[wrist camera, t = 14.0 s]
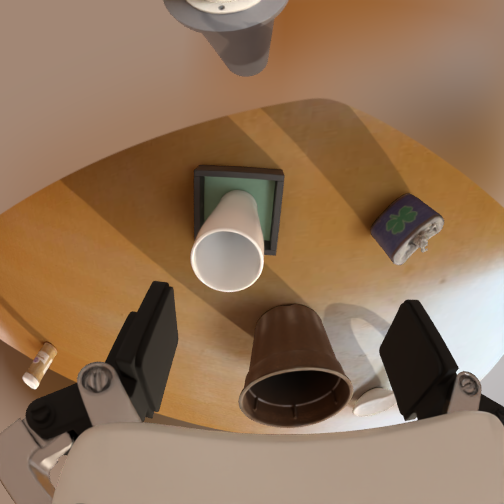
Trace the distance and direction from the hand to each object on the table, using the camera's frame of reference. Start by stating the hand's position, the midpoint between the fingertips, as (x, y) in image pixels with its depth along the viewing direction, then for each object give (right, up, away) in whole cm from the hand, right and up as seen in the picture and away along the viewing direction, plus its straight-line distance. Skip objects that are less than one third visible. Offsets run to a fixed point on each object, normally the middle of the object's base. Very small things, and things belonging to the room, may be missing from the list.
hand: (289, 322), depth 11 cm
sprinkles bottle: (-55, -23, +47) cm, 76 cm away
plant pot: (+5, -11, +39) cm, 41 cm away
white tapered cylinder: (-3, +9, +28) cm, 30 cm away
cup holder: (-3, +9, +28) cm, 30 cm away
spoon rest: (+30, -29, +48) cm, 63 cm away
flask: (+20, +8, +28) cm, 35 cm away
